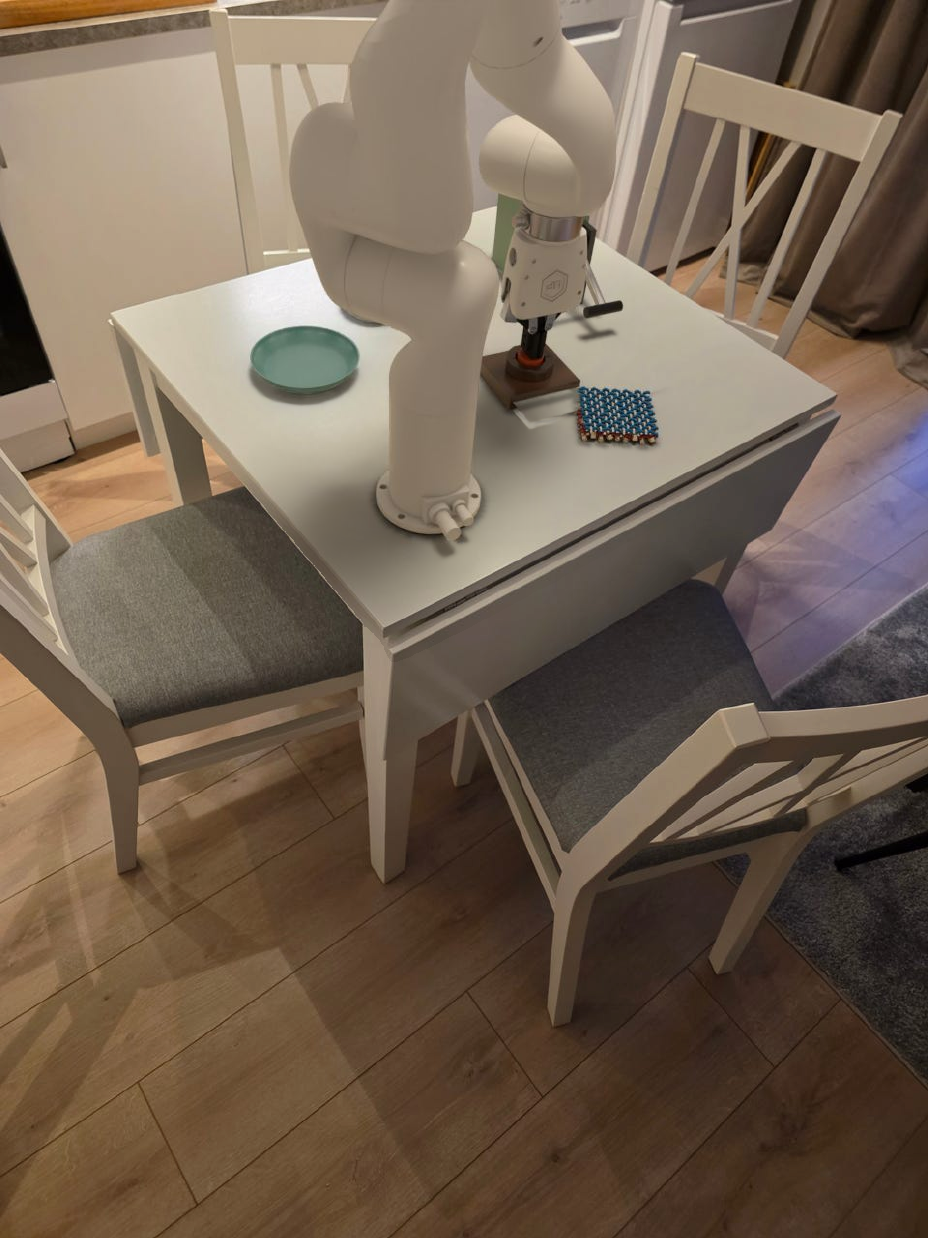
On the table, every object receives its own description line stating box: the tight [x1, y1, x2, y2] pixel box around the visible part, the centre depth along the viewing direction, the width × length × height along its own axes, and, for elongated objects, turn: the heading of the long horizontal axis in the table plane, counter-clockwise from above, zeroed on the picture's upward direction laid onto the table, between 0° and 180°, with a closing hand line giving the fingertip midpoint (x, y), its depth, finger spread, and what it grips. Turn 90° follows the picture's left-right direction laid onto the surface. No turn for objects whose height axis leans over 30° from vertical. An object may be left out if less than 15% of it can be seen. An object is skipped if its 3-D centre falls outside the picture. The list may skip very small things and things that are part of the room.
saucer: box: [249, 325, 361, 395], centre depth 113 cm, size 15×15×3 cm
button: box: [517, 349, 544, 366], centre depth 113 cm, size 4×4×2 cm
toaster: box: [491, 193, 591, 273], centre depth 129 cm, size 11×10×14 cm
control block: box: [480, 343, 581, 411], centre depth 114 cm, size 10×11×4 cm
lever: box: [582, 260, 624, 319], centre depth 120 cm, size 14×6×2 cm, turn 27°
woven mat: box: [576, 385, 659, 446], centre depth 111 cm, size 10×11×2 cm
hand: (531, 353), depth 113 cm, fingers closed
